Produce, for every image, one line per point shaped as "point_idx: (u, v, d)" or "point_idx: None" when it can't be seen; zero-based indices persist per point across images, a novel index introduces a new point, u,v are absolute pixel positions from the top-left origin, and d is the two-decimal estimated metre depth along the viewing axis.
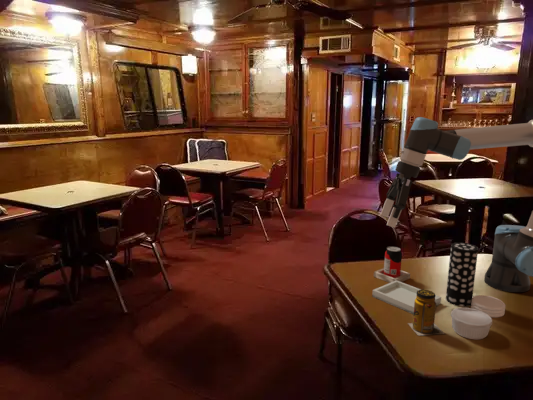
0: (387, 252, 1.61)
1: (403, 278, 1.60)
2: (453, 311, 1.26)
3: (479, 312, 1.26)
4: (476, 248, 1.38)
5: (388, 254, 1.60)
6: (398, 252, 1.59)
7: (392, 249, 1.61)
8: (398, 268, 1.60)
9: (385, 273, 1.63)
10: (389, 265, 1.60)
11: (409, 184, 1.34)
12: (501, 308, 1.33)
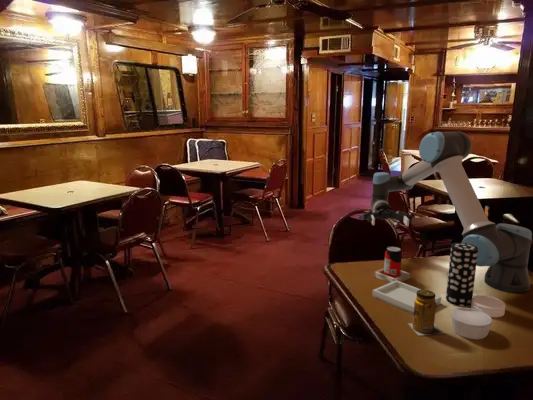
0: (387, 252, 1.61)
1: (403, 278, 1.60)
2: (453, 311, 1.26)
3: (479, 312, 1.26)
4: (476, 248, 1.38)
5: (388, 254, 1.60)
6: (398, 252, 1.59)
7: (392, 249, 1.61)
8: (398, 268, 1.60)
9: (385, 273, 1.63)
10: (389, 265, 1.60)
11: None
12: (501, 308, 1.33)
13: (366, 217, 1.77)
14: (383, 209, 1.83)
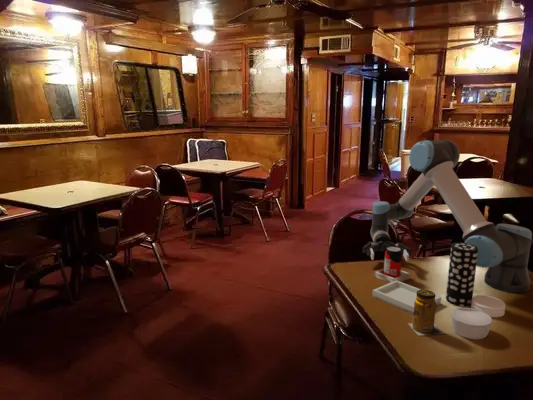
0: (387, 252, 1.61)
1: (403, 278, 1.60)
2: (453, 311, 1.26)
3: (479, 312, 1.26)
4: (476, 248, 1.38)
5: (388, 254, 1.60)
6: (398, 252, 1.59)
7: (392, 249, 1.61)
8: (398, 268, 1.60)
9: (385, 273, 1.63)
10: (389, 265, 1.60)
11: (368, 243, 1.81)
12: (501, 308, 1.33)
13: (365, 250, 1.74)
14: (383, 241, 1.79)
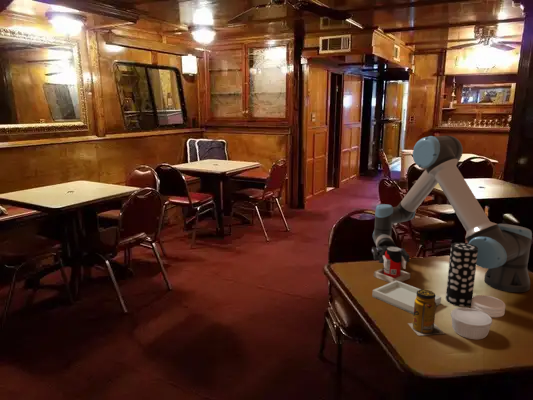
0: (387, 252, 1.61)
1: (403, 278, 1.60)
2: (453, 311, 1.26)
3: (479, 312, 1.26)
4: (476, 248, 1.38)
5: (388, 254, 1.60)
6: (398, 252, 1.59)
7: (392, 249, 1.61)
8: (398, 268, 1.60)
9: (385, 273, 1.63)
10: (389, 265, 1.60)
11: (372, 249, 1.73)
12: (501, 308, 1.33)
13: (377, 257, 1.65)
14: (386, 246, 1.73)
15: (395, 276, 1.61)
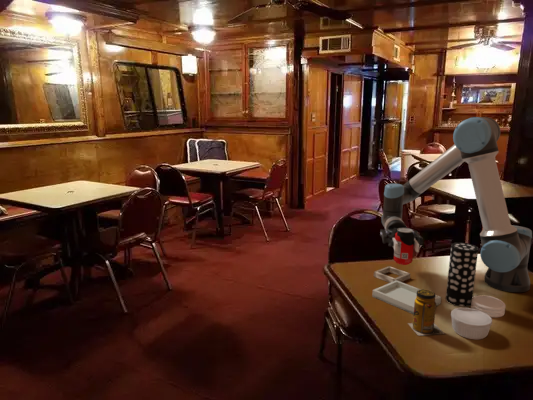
0: (397, 233, 1.42)
1: (403, 278, 1.60)
2: (453, 311, 1.26)
3: (479, 312, 1.26)
4: (476, 248, 1.38)
5: (399, 236, 1.41)
6: (410, 233, 1.41)
7: (403, 230, 1.42)
8: (410, 252, 1.42)
9: (395, 257, 1.44)
10: (400, 248, 1.42)
11: (381, 231, 1.55)
12: (501, 308, 1.33)
13: (386, 240, 1.46)
14: (397, 228, 1.54)
15: (407, 261, 1.42)
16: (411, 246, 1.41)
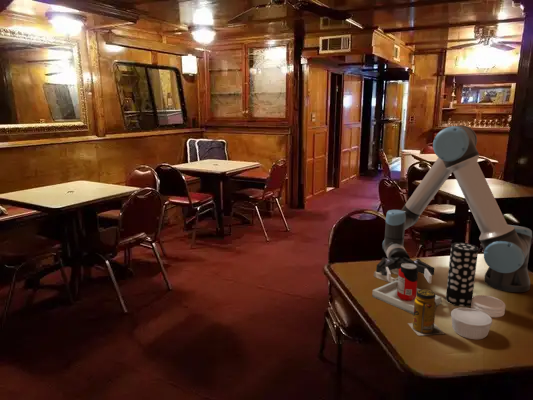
0: (401, 269, 1.41)
1: None
2: (453, 311, 1.26)
3: (479, 312, 1.26)
4: (476, 248, 1.38)
5: (403, 272, 1.40)
6: (414, 270, 1.40)
7: (407, 266, 1.41)
8: (414, 288, 1.41)
9: (399, 293, 1.43)
10: (404, 284, 1.41)
11: (382, 260, 1.55)
12: (501, 308, 1.32)
13: (380, 269, 1.47)
14: (399, 257, 1.53)
15: (410, 297, 1.41)
16: (415, 282, 1.41)
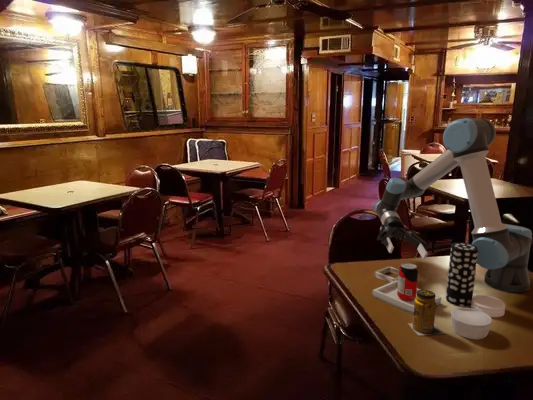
0: (401, 270, 1.41)
1: None
2: (453, 311, 1.26)
3: (479, 312, 1.26)
4: (476, 248, 1.38)
5: (403, 272, 1.40)
6: (414, 270, 1.40)
7: (407, 266, 1.41)
8: (414, 288, 1.41)
9: (399, 293, 1.43)
10: (404, 284, 1.41)
11: (381, 227, 1.67)
12: (501, 308, 1.32)
13: (381, 238, 1.60)
14: (397, 228, 1.67)
15: (410, 297, 1.41)
16: (415, 282, 1.41)
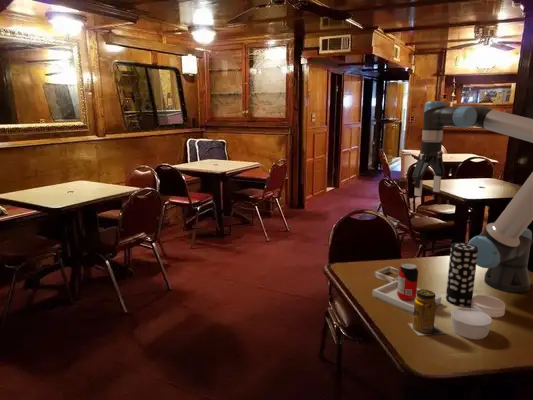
0: (401, 270, 1.41)
1: None
2: (453, 311, 1.26)
3: (479, 312, 1.26)
4: (476, 248, 1.38)
5: (403, 272, 1.40)
6: (414, 270, 1.40)
7: (407, 266, 1.41)
8: (414, 288, 1.41)
9: (399, 293, 1.43)
10: (404, 284, 1.41)
11: (422, 158, 1.60)
12: (501, 308, 1.32)
13: (416, 179, 1.61)
14: (433, 159, 1.63)
15: (410, 297, 1.41)
16: (415, 282, 1.41)
